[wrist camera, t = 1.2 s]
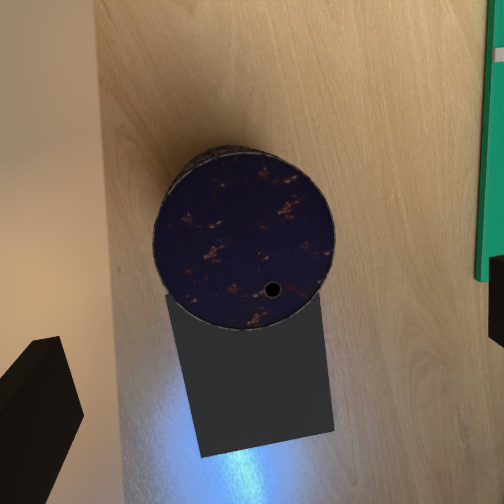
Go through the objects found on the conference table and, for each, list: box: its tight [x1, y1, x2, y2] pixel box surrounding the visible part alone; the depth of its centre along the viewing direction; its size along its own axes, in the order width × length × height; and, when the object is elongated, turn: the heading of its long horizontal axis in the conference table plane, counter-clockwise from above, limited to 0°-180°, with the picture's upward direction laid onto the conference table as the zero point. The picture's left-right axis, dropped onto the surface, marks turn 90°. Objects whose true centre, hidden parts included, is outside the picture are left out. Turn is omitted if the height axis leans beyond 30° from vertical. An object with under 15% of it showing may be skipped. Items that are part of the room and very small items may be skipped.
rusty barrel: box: [152, 145, 336, 331], centre depth 29 cm, size 10×10×15 cm
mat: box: [165, 292, 334, 458], centre depth 41 cm, size 18×14×1 cm
